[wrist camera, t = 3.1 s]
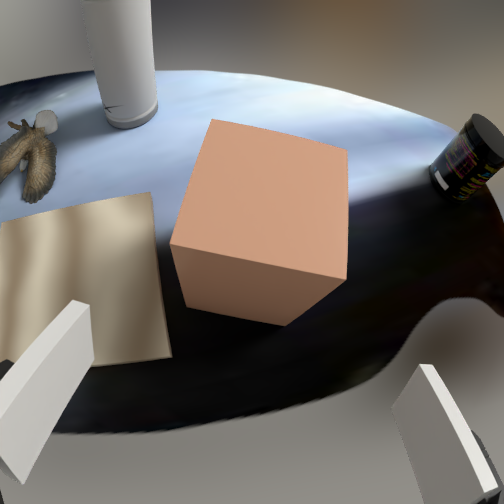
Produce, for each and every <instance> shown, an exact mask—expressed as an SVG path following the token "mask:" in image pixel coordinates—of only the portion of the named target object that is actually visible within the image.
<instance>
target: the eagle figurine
mask: <svg viewBox="0 0 504 504" xmlns="http://www.w3.org/2000/svg"><path fill="white" fill-rule="evenodd" d="M21 122H22V126H21V125H17V124H14V123H13V122H10V121H8V125H9V126H10V127H11V128H14V129H16V130H19V132H17V133H16V134H14V135H13V136H12V137H11V138H10V139H7V141H5V142H2V143H1V145H0V183H1V182H2V181H3V180H4V179H5V178H6V177H7V175H8V174H10V173H11V172H12V171H13V170H14V169H15V167H16V166H17V165H18V163H19V162H20V166H19V168H20V169H21V172H22V171H23V170H25V168H26V167H27V164H28V172H27V179H26V184H25V188H24V191H23V198H25V199H26V202H28V201H29V202H30V204H32V203H33V202H34V203H37V201H38V200H39V199H42V198H43V196H44V193H46V194H47V193H48V190H49V189H51V188H52V185H53V182H54V180H55V175H56V172H55V169H56V165H55V163H56V161H55V160H56V157H55V156H56V155H57V154H56V153H57V150H56V148H55V145H54V143H52V142H51V141H50V140H48V138H45V136H47V135H49V134H51V133H53V132H55V131H56V130H57V128H58V123H57V116H56V115H55V113H54V112H53V111H51V110H44V111H41V112H39V113H38V114H37V115H36V120H35V122H34V125H33V128H32V127H30V126H29V125H28V123H27V122H26V120H25V119H22V120H21ZM20 160H21V161H20Z"/></svg>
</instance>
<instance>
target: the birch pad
mask: <svg viewBox="0 0 504 504" xmlns="http://www.w3.org/2000/svg"><path fill="white" fill-rule="evenodd" d="M72 300H75V301H78V302H82V303H85V304H88V305H90V319H91V331H92V342H93V351H94V359H95V360H94V361H93V363H92V364H91V366H90V367H96V366H107V365H116V364H125V363H134V362H142V361H150V360H157V359H164V358H171V357H172V352H171V346H170V340H169V334H168V328H167V322H166V316H165V309H164V303H163V296H162V288H161V281H160V273H159V264H158V256H157V246H156V237H155V226H154V214H153V202H152V197H151V193H150V192H146V193H140V194H134V195H128V196H122V197H117V198H111V199H106V200H101V201H95V202H90V203H85V204H80V205H75V206H70V207H66V208H61V209H56V210H52V211H48V212H43V213H39V214H35V215H30V216H26V217H22V218H18V219H14V220H10V221H6V222H2V224H1V230H0V362H2V361H4V360H6V359H8V360H10V361H12V362H14V363H16V361H17V360H18V359H19V358H20V357H21V355H22V354H23V353H24V352H25V351H26V350H27V349H28V347H29V346H30V345H31V344H32V343H33V342H34V341H35V340H36V338H37V337H38V336H39V335H40V334H41V333H42V332H43V331H44V330H45V329H46V327H47V326H48V325H49V324H50V323H51V322H52V321H53V320H54V319H55V318H56V317H57V316H58V315H59V314H60V312H61V311H62V310H63V309H64V308H65V307H66V306H67V305H68V304H69V303H70V302H71V301H72Z"/></svg>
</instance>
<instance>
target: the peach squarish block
mask: <svg viewBox="0 0 504 504" xmlns="http://www.w3.org/2000/svg"><path fill="white" fill-rule="evenodd" d="M170 247H171V251H172V255H173V259H174V263H175V267H176V270H177V274H178V278H179V281H180V285H181V289H182V292H183V296H184V299H185V303H186V306H187V307H189V308H194V309H199V310H203V311H208V312H213V313H218V314H223V315H228V316H233V317H238V318H243V319H248V320H254V321H259V322H265V323H270V324H276V325H282V326H286V325H287V324H289V323H290V322H292V321H293V320H294V319H296V318H297V317H298V316H300V315H301V314H302V313H304V312H305V311H306V310H308V309H309V308H310V307H312V306H313V305H314V304H316V303H317V302H318V301H319V300H321V299H322V298H323V297H325V296H326V295H327V294H329V293H330V292H331V291H332V290H334V289H335V288H336V287H337V286H339V285H340V284H341V283H343V282H344V281H345V280H346V273H347V248H348V159H347V150H345V149H342V148H338V147H335V146H331V145H328V144H324V143H320V142H317V141H313V140H309V139H305V138H301V137H297V136H293V135H289V134H285V133H280V132H276V131H272V130H267V129H262V128H258V127H253V126H248V125H243V124H237V123H232V122H227V121H221V120H215V119H212V120H211V122H210V125H209V128H208V130H207V133H206V136H205V138H204V141H203V144H202V147H201V149H200V152H199V155H198V158H197V161H196V163H195V166H194V169H193V172H192V175H191V178H190V181H189V184H188V187H187V190H186V193H185V196H184V199H183V202H182V205H181V208H180V211H179V215H178V218H177V221H176V224H175V228H174V231H173V234H172V237H171V241H170Z"/></svg>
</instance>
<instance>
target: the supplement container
mask: <svg viewBox="0 0 504 504" xmlns="http://www.w3.org/2000/svg"><path fill="white" fill-rule="evenodd" d="M503 167H504V136H503V134H502V133H501V132H500V131H499V130H498V128H497V127H496V126H495V125H493V123H491V122H490V121H489V120H488V119H486V118H485V117H483V116H481V115H479V114H473V115H472V116H471V117H470V119H469V120H468V121H467V122H466V123H465V125H464V126H463V128H462V129H461V130H460V131H459V132H458V133H457V135H456V136H455V137H454V138H453V139H452V141H451V142H450V143H449V144H448V145H447V147H446V148H445V149H444V150H443V151H442V152H441V154H440V155H439V156H438V157H437V158H436V159H435V161H434V162H433V163H432V164H431V167H430V178H431V181H432V184H433V186H434V187H435V189H436V190H437V192H438V193H439V194H440V195H441V196H442V197H443V198H444V199H446V200H447V201H449V202H451V203H455V204H460V203H463V202H465V201H466V200H467V199H468V198H469V197H471V196H472V195H473V194H474V193H475V192H476V191H477V190H478V189H480V188H481V187H482V186H483V185H484V184H485V183H486V182H487V181H488V180H489V179H490V178H492V177H493V176H494V175H495V174H496V173H497V172H498V171H499V170H500V169H501V168H503Z"/></svg>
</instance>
